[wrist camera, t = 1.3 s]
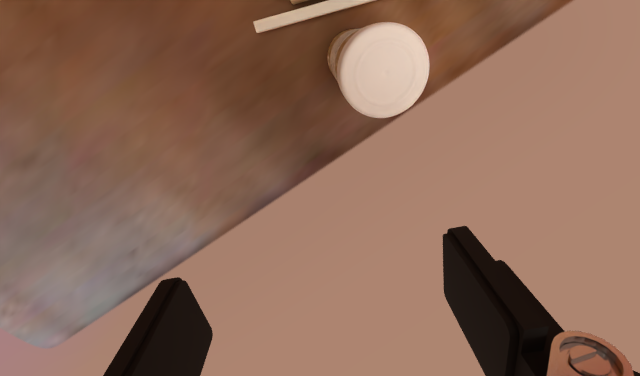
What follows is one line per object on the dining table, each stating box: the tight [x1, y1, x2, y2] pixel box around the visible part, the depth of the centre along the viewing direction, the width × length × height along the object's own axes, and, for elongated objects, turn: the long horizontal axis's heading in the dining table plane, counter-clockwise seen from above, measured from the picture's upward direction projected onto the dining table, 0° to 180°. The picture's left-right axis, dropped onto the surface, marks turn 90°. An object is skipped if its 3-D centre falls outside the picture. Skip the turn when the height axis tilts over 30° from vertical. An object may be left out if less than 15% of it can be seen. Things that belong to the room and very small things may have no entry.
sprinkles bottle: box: [327, 22, 430, 118], centre depth 21 cm, size 5×5×13 cm
